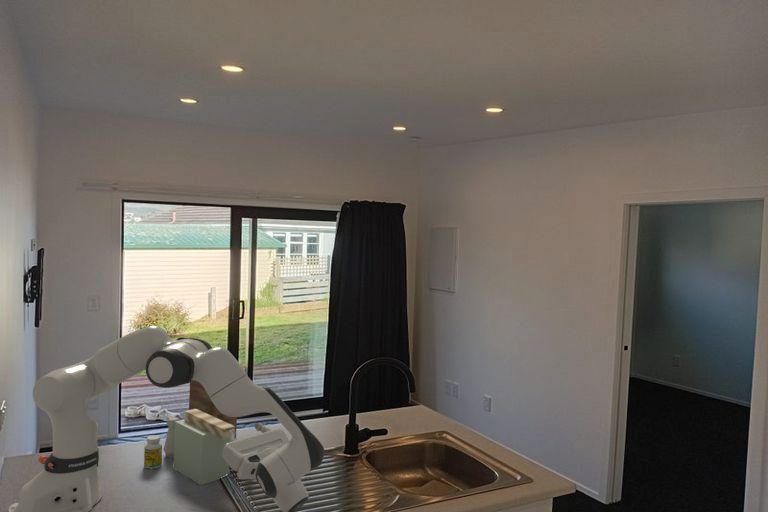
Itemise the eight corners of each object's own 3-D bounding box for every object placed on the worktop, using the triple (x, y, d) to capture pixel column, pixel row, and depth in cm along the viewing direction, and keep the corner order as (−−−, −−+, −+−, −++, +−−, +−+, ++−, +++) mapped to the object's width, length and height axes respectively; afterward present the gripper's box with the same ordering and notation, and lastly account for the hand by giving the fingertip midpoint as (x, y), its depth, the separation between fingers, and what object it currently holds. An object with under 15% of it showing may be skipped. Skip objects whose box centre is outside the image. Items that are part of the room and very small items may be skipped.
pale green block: (200, 485, 171) (202, 435, 170) (173, 468, 182) (174, 421, 181) (229, 475, 178) (230, 428, 178) (200, 460, 189) (202, 415, 189)
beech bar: (234, 435, 171) (235, 426, 171) (223, 439, 168) (223, 429, 168) (195, 417, 186) (195, 408, 186) (184, 420, 183) (184, 411, 183)
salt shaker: (184, 453, 195) (185, 416, 194) (176, 459, 189) (177, 421, 189) (168, 451, 195) (169, 415, 195) (160, 457, 190) (161, 420, 189)
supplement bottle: (164, 463, 185) (165, 435, 185) (156, 470, 180) (157, 440, 180) (149, 462, 186) (150, 433, 185) (140, 468, 180) (141, 439, 180)
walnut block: (208, 457, 192) (211, 382, 192) (186, 445, 202) (189, 374, 201) (236, 448, 201) (239, 377, 200) (214, 437, 211) (217, 369, 210)
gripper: (300, 445, 164) (275, 412, 172) (241, 464, 148) (217, 427, 156) (292, 460, 166) (268, 427, 174) (234, 481, 151) (210, 444, 158)
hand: (244, 427), depth 165 cm, fingers open, 8 cm apart
